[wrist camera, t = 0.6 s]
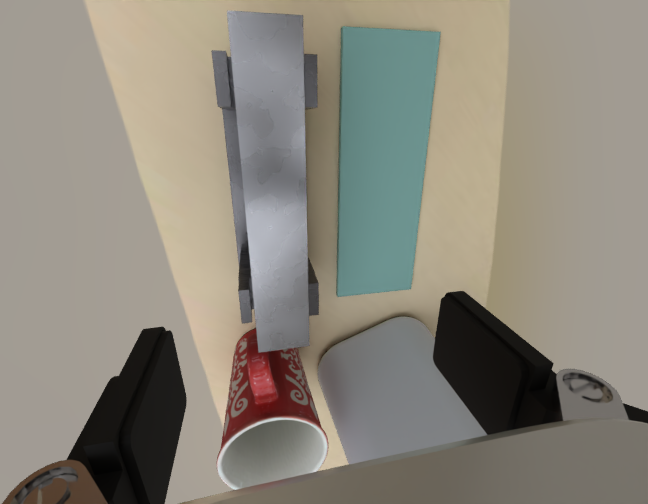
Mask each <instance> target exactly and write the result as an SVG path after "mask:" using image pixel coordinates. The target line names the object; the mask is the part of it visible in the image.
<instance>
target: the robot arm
mask: <svg viewBox="0 0 648 504" xmlns="http://www.w3.org/2000/svg"><path fill="white" fill-rule="evenodd" d="M433 361H434V364H435V366H436V367H437V369H438V370H439V371H440V372H441V374H442V375H443V376H444V378H445V379H446V380H447V382H448V383H449V384H450V386H451V387H452V388H453V390H454V391H455V392H456V394H457V395H458V396H459V398H460V399H461V400H462V402H463V403H464V404H465V406H466V407H467V408H468V410H469V411H470V412H471V414H472V415H473V416H474V418H475V419H476V420H477V422H478V423H479V424H480V426H481V427H482V428H483V430H484V431H485V432H486V434H487V435H485V436H480V437H476V438H471V439H466V440H461V441H456V442H452V443H447V444H442V445H437V446H433V447H428V448H423V449H419V450H414V451H409V452H405V453H400V454H395V455H391V456H386V457H381V458H377V459H372V460H368V461H363V462H358V463H354V464H349V465H345V466H340V467H335V468H331V469H326V470H322V471H317V472H313V473H308V474H304V475H299V476H295V477H290V478H286V479H281V480H277V481H272V482H268V483H263V484H259V485H254V486H250V487H245V488H241V489H237V490H233V491H229V492H225V493H220V494H216V495H212V496H208V497H204V498H200V499H195V500H191V501H187V502H183V503H179V504H648V412H647V411H645V410H641V409H639V408H636V407H633V406H629V405H627V404H623V403H622V400H621V398H620V396H619V394H618V392H617V391H616V390H615V389H614V388H613V387H612V386H611V385H610V384H609V383H607V382H606V381H604V380H603V379H601V378H599V377H597V376H595V375H593V374H591V373H588V372H585V371H582V370H577V369H563V370H561V371H559V372H558V373H557V374H556V373H554V372H553V371H552V366H553V363H552V362H551V361H550V360H549V359H547V358H546V357H545V356H544V355H542V354H541V353H540V352H539V351H537V350H536V349H535V348H534V347H532V346H531V345H530V344H529V343H527V342H526V341H525V340H524V339H522V338H521V337H520V336H519V335H518V334H516V333H515V332H514V331H512V330H511V329H510V328H509V327H508V326H506V325H505V324H504V323H503V322H501V321H500V320H499V319H497V318H496V317H495V316H494V315H493V314H491V313H490V312H489V311H488V310H486V309H485V308H484V307H483V306H481V305H480V304H479V303H478V302H477V301H475V300H474V299H473V298H472V297H470V296H469V295H468V294H467V293H465V292H464V291H457V292H449V293H446V295H445V297H443V298H442V299H441V304H440V311H439V317H438V324H437V331H436V337H435V344H434V351H433ZM185 409H186V393H185V388H184V384H183V379H182V375H181V371H180V366H179V361H178V357H177V352H176V348H175V343H174V339H173V335H172V332H171V331H166V330H165V328H164V327H157V328H149V329H143V330H142V332H141V334H140V336H139V338H138V340H137V342H136V344H135V345H134V347H133V349H132V352H131V353H130V355H129V357H128V359H127V361H126V363H125V365H124V367H123V369H122V371H121V373H120V375H119V376H115V377H113V378H111V379H110V381H109V382H108V384H107V386H106V387H105V389H104V391H103V393H102V395H101V397H100V399H99V401H98V402H97V404H96V406H95V408H94V410H93V412H92V413H91V415H90V417H89V419H88V421H87V423H86V425H85V426H84V429H83V431H82V432H81V434H80V436H79V438H78V439H77V441H76V443H75V445H74V447H73V449H72V451H71V453H70V454H69V456H68V458H67V460H64V461H58V462H55V463H52V464H50V465H47V466H45V467H43V468H41V469H39V470H37V471H36V472H34V473H33V474H31V475H30V476H28V477H27V478H26V479H24V480H23V481H22V482H20V483H19V485H17V486H16V488H14V489H13V490H12V491H11V492H10V493H9V495H8V496H7V498H6V499H5V500H4V502H3V503H2V504H164V503H165V499H166V494H167V490H168V485H169V481H170V476H171V472H172V467H173V463H174V458H175V454H176V449H177V444H178V440H179V436H180V431H181V427H182V422H183V418H184V413H185Z"/></svg>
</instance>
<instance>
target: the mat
mask: <svg viewBox="0 0 648 504" xmlns="http://www.w3.org/2000/svg"><path fill="white" fill-rule="evenodd" d="M440 33H441V32H431V31H414V30H396V29H379V28H362V27H345V26H343V27H342V28H341V72H340V128H339V184H338V240H337V296H338V297H342V296H351V295H360V294H370V293H379V292H389V291H398V290H407V289H411V284H412V275H413V267H414V258H415V249H416V241H417V232H418V223H419V215H420V206H421V197H422V189H423V180H424V171H425V163H426V154H427V145H428V137H429V128H430V119H431V111H432V102H433V93H434V85H435V76H436V67H437V59H438V50H439V41H440Z"/></svg>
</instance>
